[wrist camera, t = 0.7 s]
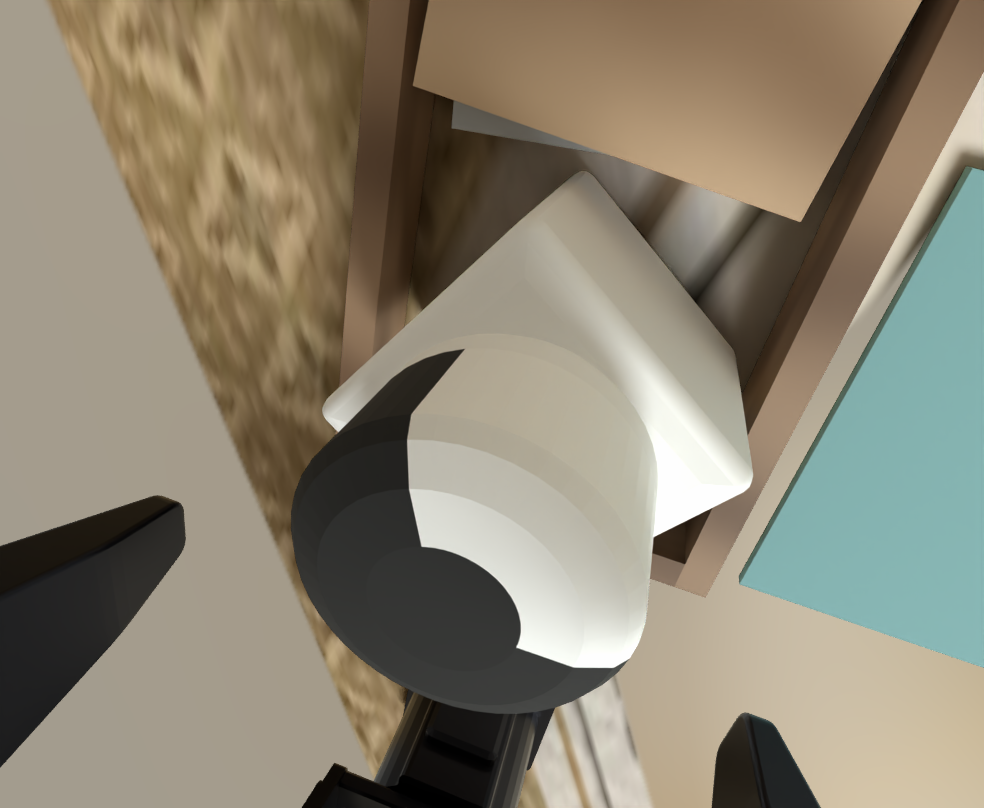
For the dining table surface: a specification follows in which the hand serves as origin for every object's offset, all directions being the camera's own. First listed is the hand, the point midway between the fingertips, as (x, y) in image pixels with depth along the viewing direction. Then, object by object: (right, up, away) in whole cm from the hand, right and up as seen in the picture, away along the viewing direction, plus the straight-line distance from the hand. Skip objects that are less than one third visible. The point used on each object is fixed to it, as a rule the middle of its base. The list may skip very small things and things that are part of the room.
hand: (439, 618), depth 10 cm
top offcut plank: (+4, +12, +4) cm, 13 cm away
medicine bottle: (+3, +6, +10) cm, 12 cm away
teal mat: (+15, +2, +8) cm, 17 cm away
